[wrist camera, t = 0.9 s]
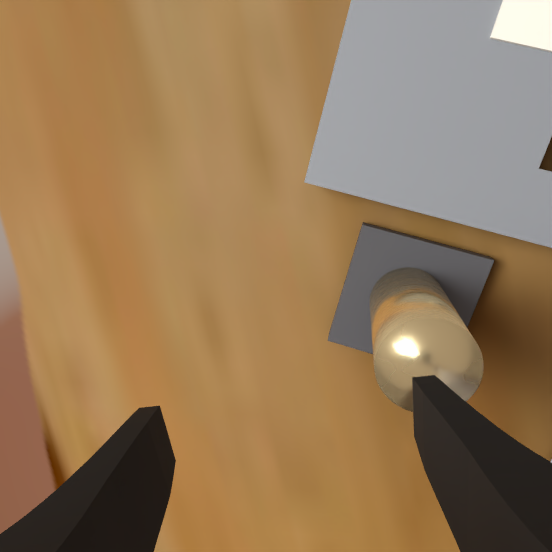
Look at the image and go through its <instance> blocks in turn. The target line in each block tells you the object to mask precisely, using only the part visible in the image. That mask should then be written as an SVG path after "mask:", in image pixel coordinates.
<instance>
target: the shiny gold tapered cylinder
mask: <svg viewBox="0 0 552 552" xmlns="http://www.w3.org/2000/svg"><path fill="white" fill-rule="evenodd" d="M369 302H370V317H371V331H372V344H373V357H374V370H375V376H376V379H377V382H378V384H379V386H380V388H381V390H382V391H383V393H384V394H385V395H386V396H387V397H388V398H389V399H390V400H391V401H392V402H393V403H395V404H396V405H398V406H400V407H402V408H404V409H406V410H409V411H411V412H413V387H412V377H420V376H429V375H435V376H436V377H438V378H439V379H440V380H441V381H442V382H444V383H445V384H446V385H447V386H448V387H449V388H450V389H452V390H453V391H454V392H455V393H456V394H457V395H458V396H460V397H461V398H462V399H463V400H464V401H467V400H468V399H469V398H470V397H471V396H472V395H473V394H474V393H475V391H476V390H477V388H478V386H479V384H480V382H481V379H482V375H483V366H484V364H483V357H482V353H481V350H480V348H479V346H478V344H477V343H476V341H475V340H474V338H473V336H472V335H471V333H470V332H469V330H468V328H467V327H466V325H465V324H464V322H463V321H462V319H461V317H460V316H459V314H458V313H457V311H456V309H455V308H454V306H453V305H452V303H451V302H450V300H449V298H448V297H447V295H446V294H445V292H444V291H443V289H442V287H441V286H440V284H439V283H438V281H437V280H436V279H435V278H434V277H433V276H432V275H430V274H429V273H427V272H425V271H423V270H420V269H417V268H409V267H407V268H398V269H395V270H392V271H390V272H388V273H386V274H385V275H383V276H382V277H381V278H380V279H379V280H378V281H377V282H376V284H375V285H374V287H373V289H372V291H371V295H370V301H369Z"/></svg>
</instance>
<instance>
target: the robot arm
mask: <svg viewBox="0 0 552 552" xmlns="http://www.w3.org/2000/svg"><path fill="white" fill-rule="evenodd" d="M412 387H413V415H414V437H415V440H416V443H417V447H418V450H419V453H420V457H421V460H422V463H423V466H424V469H425V472H426V474H427V476H428V479H429V481H430V483H431V486H432V488H433V490H434V492H435V495H436V497H437V499H438V502H439V504H440V506H441V508H442V511H443V513H444V515H445V517H446V520H447V522H448V524H449V526H450V529H451V531H452V533H453V535H454V538H455V540H456V542H457V544H458V547H459V549H460V551H461V552H552V460H551V462H550V461H548V460H546V459H545V458H543V457H541V456H540V455H538V454H536V453H535V452H533V451H531V450H530V449H528V448H527V447H525V446H524V445H522V444H521V443H519V442H518V441H516V440H515V439H514V438H512V437H511V436H509V435H508V434H506V433H505V432H504V431H502V430H501V429H500V428H498V427H497V426H496V425H494V424H493V423H492V422H490V421H489V420H488V419H487V418H485V417H484V416H483V415H481V414H480V413H479V412H478V411H476V410H475V409H474V408H473V407H472V406H470V405H469V404H468V403H467V402H466V401H464V400H463V399H462V398H461V397H460V396H458V395H457V394H456V393H455V392H454V391H453V390H452V389H450V388H449V387H448V386H447V385H446V384H445V383H444V382H442V381H441V380H440V379H439V378H438V377H436V376H435V375H429V376H420V377H412ZM175 462H176V460H175V457H174V453H173V450H172V446H171V443H170V439H169V436H168V433H167V429H166V426H165V422H164V419H163V415H162V412H161V409H160V406H153V407H144V408H139V409H138V410H137V411H136V412H135V413H134V414H133V415H132V416H131V417H130V418H129V419H128V420H127V421H126V422H125V423H124V424H123V425H122V426H121V427H120V428H119V429H118V430H117V431H116V432H115V433H114V434H113V435H112V436H111V437H110V438H109V439H108V441H107V442H106V443H105V444H104V445H103V446H102V447H101V448H100V449H99V450H98V451H97V452H96V453H95V454H94V455H93V456H92V457H91V458H90V459H89V460H88V461H87V462H86V463H85V464H84V465H83V466H81V467H80V468H79V469H78V470H77V471H76V472H75V473H74V474H73V475H72V476H71V477H70V478H69V479H68V480H67V481H66V482H65V483H64V484H62V485H61V486H60V487H59V488H58V489H57V490H56V491H55V492H53V493H52V494H51V495H50V496H49V497H48V498H47V499H45V500H44V501H43V502H42V503H40V504H39V505H38V506H37V507H36V508H34V509H33V510H32V511H31V512H29V513H28V514H27V515H26V516H24V517H23V518H22V519H20V520H19V521H18V522H16V523H15V524H14V525H12V526H11V527H9V528H8V529H7V530H5V531H4V532H3V533H1V534H0V552H154V548H155V545H156V542H157V538H158V535H159V532H160V528H161V525H162V522H163V518H164V515H165V511H166V508H167V504H168V501H169V497H170V493H171V487H172V481H173V475H174V468H175Z"/></svg>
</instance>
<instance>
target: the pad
mask: <svg viewBox="0 0 552 552" xmlns="http://www.w3.org/2000/svg"><path fill="white" fill-rule="evenodd" d="M493 262H494V260H493V259H492V258H490V257H489V256H486V255H482V254H478V253H475V252H471V251H467V250H463V249H460V248H456V247H452V246H449V245H445V244H441V243H438V242H434V241H430V240H426V239H423V238H419V237H415V236H412V235H408V234H404V233H401V232H397V231H393V230H390V229H386V228H382V227H378V226H375V225H371V224H367V223H364V222H363V224H362V227H361V230H360V234H359V237H358V240H357V244H356V247H355V250H354V253H353V257H352V260H351V263H350V267H349V270H348V273H347V276H346V280H345V283H344V286H343V290H342V293H341V296H340V299H339V303H338V306H337V309H336V313H335V316H334V319H333V322H332V326H331V329H330V332H329V337H328V341H331V342H335V343H338V344H341V345H345V346H348V347H351V348H355V349H358V350H361V351H365V352H368V353H371V354H373V344H372V331H371V317H370V302H369V301H370V295H371V291H372V289H373V287H374V285H375V284H376V282H377V281H378V280H379V279H380V278H381V277H382V276H383V275H385V274H386V273H388V272H390V271H392V270H395V269H398V268H407V267H409V268H417V269H420V270H423V271H425V272H427V273H429V274H430V275H432V276H433V277H434V278H435V279H436V280H437V281H438V283H439V284H440V286H441V287H442V289H443V291H444V292H445V294H446V295H447V297H448V298H449V300H450V302H451V303H452V305H453V306H454V308H455V309H456V311H457V313H458V314H459V316H460V317H461V319H462V321H463V322H464V324H465V325H466V327H468V324H469V322H470V319H471V317H472V315H473V312H474V310H475V307H476V305H477V302H478V300H479V297H480V295H481V292H482V290H483V287H484V285H485V282H486V280H487V277H488V275H489V272H490V270H491V267H492V265H493Z"/></svg>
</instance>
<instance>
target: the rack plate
mask: <svg viewBox="0 0 552 552" xmlns="http://www.w3.org/2000/svg"><path fill="white" fill-rule="evenodd" d="M551 137H552V0H351V4H350V8H349V11H348V15H347V19H346V23H345V27H344V31H343V35H342V39H341V42H340V46H339V50H338V54H337V58H336V62H335V66H334V69H333V73H332V77H331V81H330V85H329V89H328V93H327V97H326V100H325V104H324V108H323V112H322V116H321V120H320V124H319V127H318V131H317V135H316V139H315V143H314V147H313V151H312V155H311V158H310V162H309V166H308V170H307V174H306V178H305V183H309V184H313V185H317V186H320V187H324V188H328V189H332V190H335V191H339V192H343V193H347V194H351V195H354V196H358V197H362V198H366V199H369V200H373V201H377V202H381V203H385V204H388V205H392V206H396V207H400V208H403V209H407V210H411V211H415V212H418V213H422V214H426V215H430V216H434V217H437V218H441V219H445V220H449V221H452V222H456V223H460V224H464V225H468V226H471V227H475V228H479V229H483V230H486V231H490V232H494V233H498V234H502V235H505V236H509V237H513V238H517V239H520V240H524V241H528V242H532V243H535V244H539V245H543V246H547V247H551V248H552V172H551V171H547V170H543V169H539V167H540V164H541V162H542V159H543V157H544V154H545V152H546V149H547V147H548V144H549V142H550V139H551Z"/></svg>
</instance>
